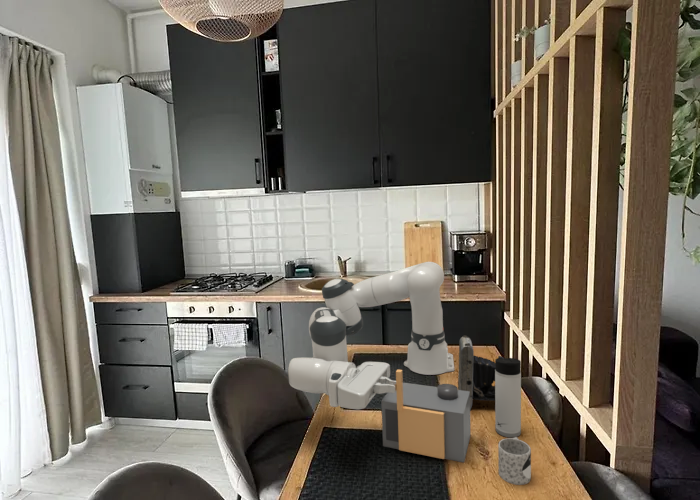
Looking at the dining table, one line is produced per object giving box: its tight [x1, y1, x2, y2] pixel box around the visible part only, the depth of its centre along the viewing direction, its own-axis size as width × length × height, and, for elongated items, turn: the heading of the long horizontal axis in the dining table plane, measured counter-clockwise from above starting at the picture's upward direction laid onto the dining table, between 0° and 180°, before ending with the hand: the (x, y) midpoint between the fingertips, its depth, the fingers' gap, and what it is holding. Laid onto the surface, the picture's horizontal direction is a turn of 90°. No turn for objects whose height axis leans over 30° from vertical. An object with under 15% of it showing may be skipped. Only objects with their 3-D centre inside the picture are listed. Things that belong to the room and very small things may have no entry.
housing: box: [380, 382, 471, 463], centre depth 104 cm, size 12×20×14 cm, turn 67°
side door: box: [395, 369, 445, 460], centre depth 97 cm, size 2×11×20 cm, turn 67°
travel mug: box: [494, 357, 522, 438], centre depth 106 cm, size 6×7×20 cm
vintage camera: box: [457, 335, 504, 409], centre depth 122 cm, size 10×16×20 cm, turn 79°
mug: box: [497, 436, 532, 486], centre depth 92 cm, size 10×7×7 cm, turn 155°
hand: (396, 387), depth 98 cm, fingers closed, pressing on side door
